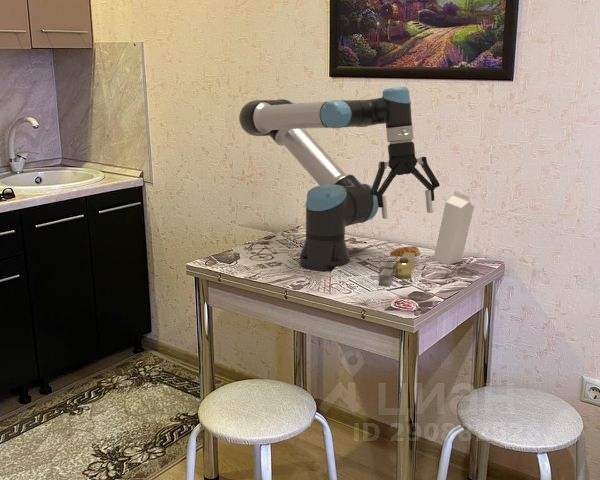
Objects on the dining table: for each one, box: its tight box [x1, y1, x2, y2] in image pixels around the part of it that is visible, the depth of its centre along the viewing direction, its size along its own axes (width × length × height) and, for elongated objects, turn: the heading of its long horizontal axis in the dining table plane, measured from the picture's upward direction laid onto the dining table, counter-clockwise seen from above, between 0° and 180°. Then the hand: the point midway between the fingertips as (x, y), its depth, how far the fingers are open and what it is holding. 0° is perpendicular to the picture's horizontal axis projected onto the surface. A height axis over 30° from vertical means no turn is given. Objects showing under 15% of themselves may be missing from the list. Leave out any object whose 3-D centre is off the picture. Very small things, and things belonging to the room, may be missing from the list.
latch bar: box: [394, 252, 416, 279], centre depth 189 cm, size 13×4×4 cm, turn 162°
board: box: [378, 257, 408, 287], centre depth 184 cm, size 17×24×6 cm
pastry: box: [389, 245, 421, 258], centre depth 208 cm, size 9×7×4 cm
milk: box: [432, 190, 475, 265], centre depth 198 cm, size 6×6×22 cm
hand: (407, 215), depth 193 cm, fingers open, 13 cm apart
